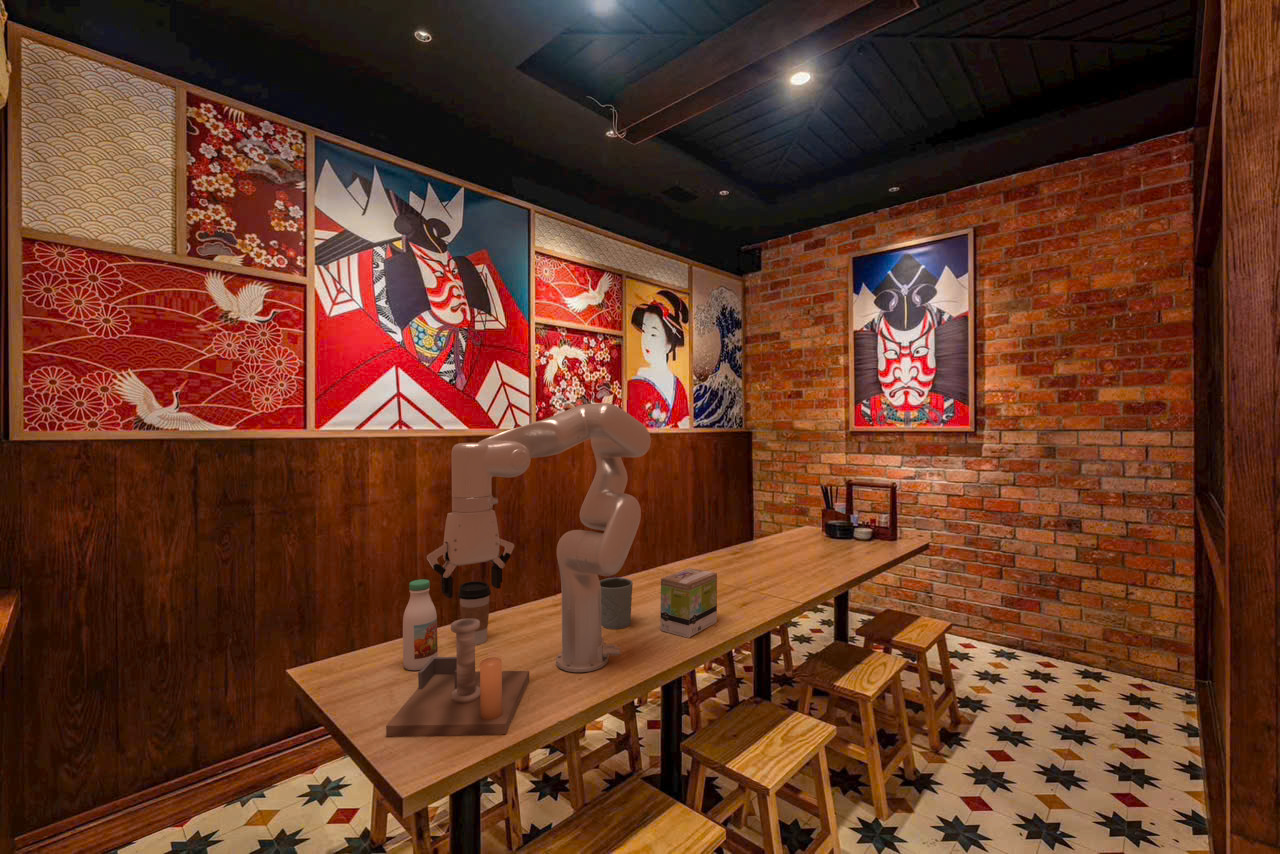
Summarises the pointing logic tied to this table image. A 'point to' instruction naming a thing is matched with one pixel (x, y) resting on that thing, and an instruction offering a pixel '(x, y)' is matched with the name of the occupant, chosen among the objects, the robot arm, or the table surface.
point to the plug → (491, 688)
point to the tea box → (688, 602)
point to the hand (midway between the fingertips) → (472, 591)
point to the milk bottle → (419, 627)
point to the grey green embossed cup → (616, 602)
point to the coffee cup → (475, 606)
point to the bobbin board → (458, 697)
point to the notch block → (437, 669)
